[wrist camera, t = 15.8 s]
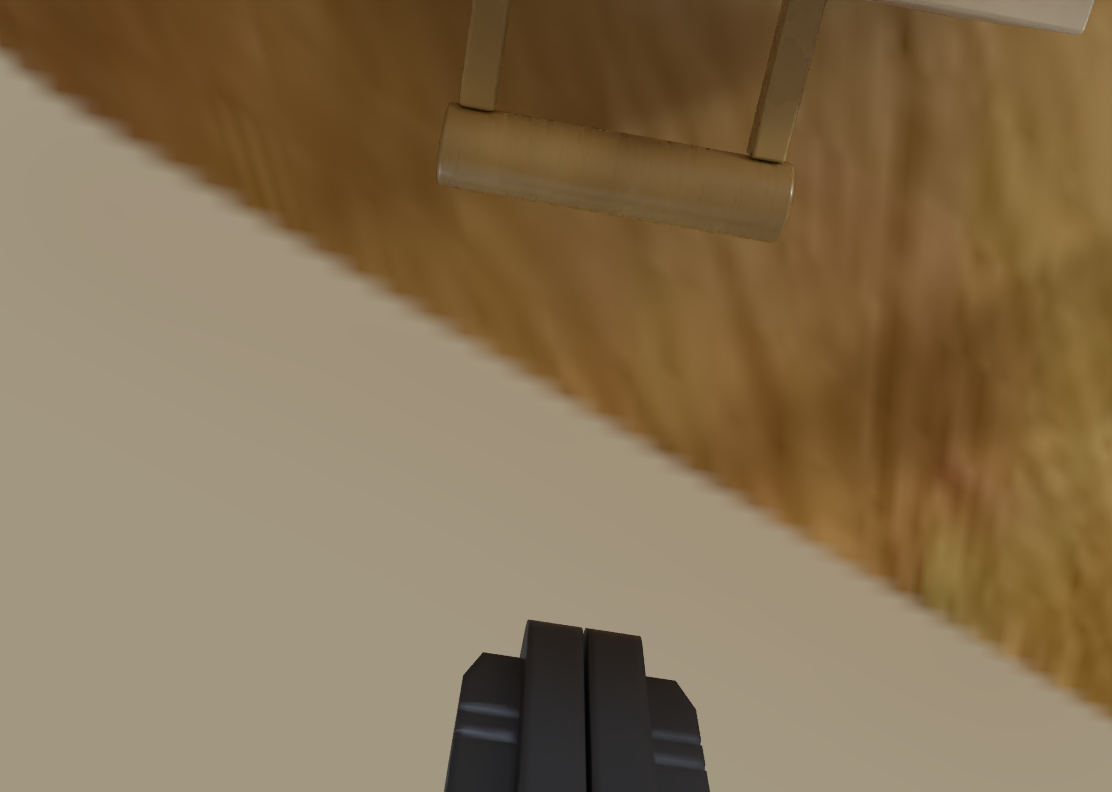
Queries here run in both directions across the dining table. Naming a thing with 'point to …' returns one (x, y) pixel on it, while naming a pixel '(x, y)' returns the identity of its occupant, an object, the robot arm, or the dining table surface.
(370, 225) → the dining table surface
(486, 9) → the drawer
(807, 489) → the dining table surface
